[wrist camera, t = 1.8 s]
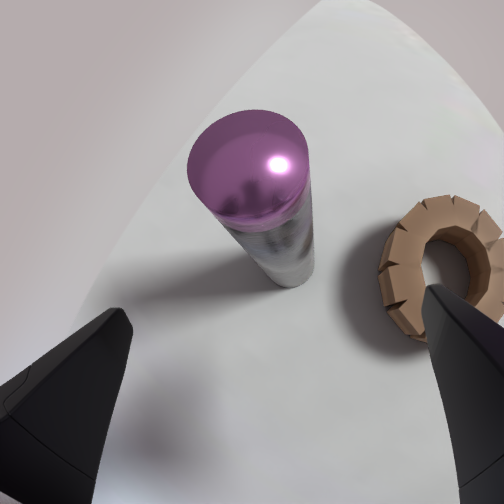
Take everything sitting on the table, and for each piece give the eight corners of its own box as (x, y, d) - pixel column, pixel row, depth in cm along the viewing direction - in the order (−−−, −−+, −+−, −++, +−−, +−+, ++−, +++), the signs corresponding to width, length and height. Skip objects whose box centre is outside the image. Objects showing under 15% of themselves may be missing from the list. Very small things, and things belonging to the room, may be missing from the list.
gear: (500, 322, 15) (522, 320, 13) (392, 359, 17) (405, 364, 14) (470, 204, 18) (488, 187, 15) (365, 225, 19) (372, 208, 17)
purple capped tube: (318, 282, 19) (322, 198, 7) (269, 291, 20) (191, 226, 7) (309, 235, 20) (292, 99, 8) (262, 244, 21) (185, 127, 8)
